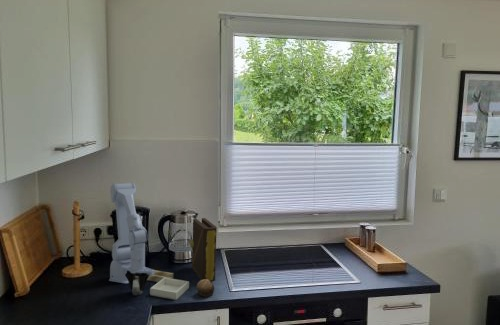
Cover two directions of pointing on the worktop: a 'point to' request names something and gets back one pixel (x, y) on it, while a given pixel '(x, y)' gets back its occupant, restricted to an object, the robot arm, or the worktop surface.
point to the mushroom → (205, 287)
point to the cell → (136, 286)
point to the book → (204, 249)
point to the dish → (169, 288)
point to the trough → (160, 276)
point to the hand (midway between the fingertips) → (137, 289)
